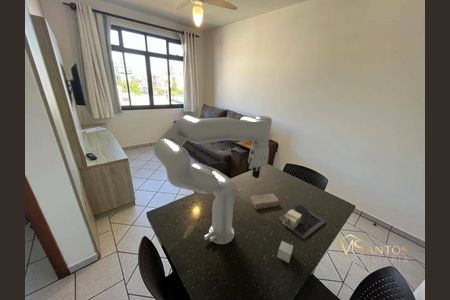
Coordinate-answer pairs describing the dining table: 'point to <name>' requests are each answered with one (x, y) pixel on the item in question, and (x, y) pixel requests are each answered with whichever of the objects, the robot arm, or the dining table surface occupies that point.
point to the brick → (264, 201)
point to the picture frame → (305, 222)
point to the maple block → (292, 219)
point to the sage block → (285, 251)
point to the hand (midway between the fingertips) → (255, 176)
